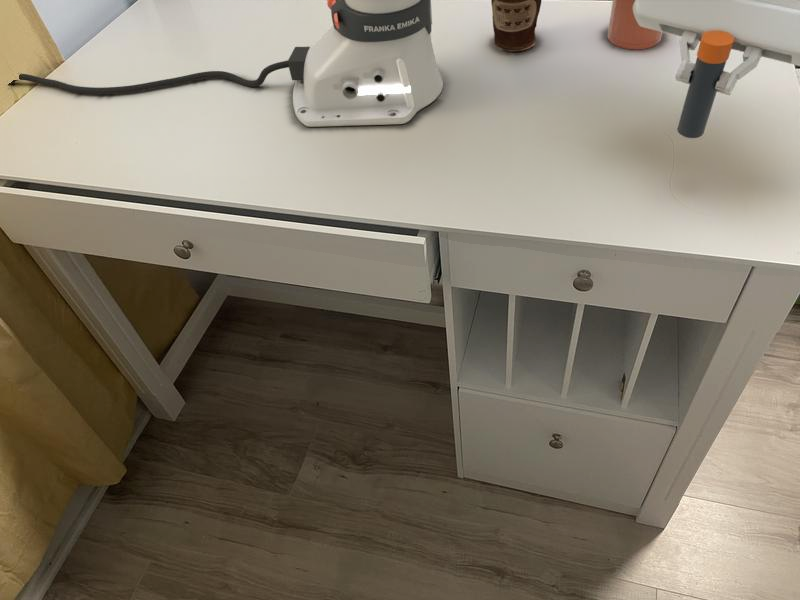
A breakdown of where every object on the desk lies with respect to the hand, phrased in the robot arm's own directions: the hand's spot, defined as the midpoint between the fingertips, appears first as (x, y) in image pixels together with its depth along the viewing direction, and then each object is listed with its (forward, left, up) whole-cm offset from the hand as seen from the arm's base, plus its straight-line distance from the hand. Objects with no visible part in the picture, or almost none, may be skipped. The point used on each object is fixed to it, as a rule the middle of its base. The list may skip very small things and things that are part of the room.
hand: (702, 86), depth 69 cm
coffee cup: (-10, +38, -14) cm, 42 cm away
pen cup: (+8, +35, -14) cm, 39 cm away
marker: (0, 0, -6) cm, 6 cm away
